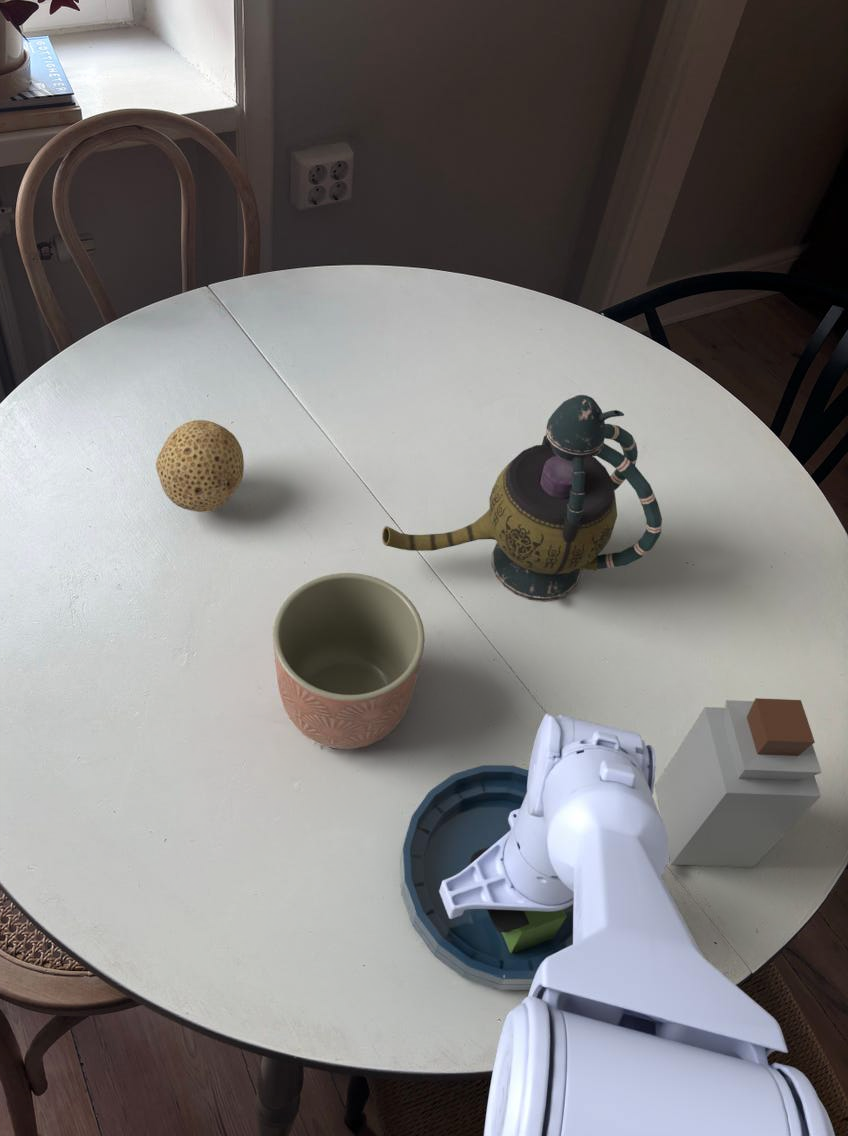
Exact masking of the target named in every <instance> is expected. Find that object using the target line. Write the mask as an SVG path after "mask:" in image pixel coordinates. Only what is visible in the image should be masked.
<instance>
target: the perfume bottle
mask: <svg viewBox="0 0 848 1136" xmlns="http://www.w3.org/2000/svg"><path fill="white" fill-rule="evenodd" d="M815 743H816V742H815V738H814V735H813V733H812V729H811V726H810V723H809V721H808V717H807V715H806V711H805V709H804V705H803V702H802V700H801V699H788V698H787V699H786V698H785V699H784V698H757V697H755V698H754V700H732V699H730V700H729V699H725V704H724V707H716V706H704V708H703V709H702V711H701V713H700V714H699V715H698V717H697V718H696V720H695V722H694V723H693V724H692V726H691V728H690V730H688V733H687V734H686V736H685V737H684V739H683V741H682V742H681V743H680V745H679V746H678V748H677V749H676V751H675V753H674V755H673V756H672V757H671V759H670V761H669V763H668V764H667V766H666V767H665V768H664V770H663V772H662V774H661V775H660V776H659V778H658V779H657V781H656V782H655V783H654V789H655V793H656V798H657V804H658V810H659V814H660V817H661V819H662V822H663V824H664V827H665V830H666V833H667V836H668V841H669V856H668V860H669V863H670V865H672V866H673V865H674V866H699V867H703V866H704V867H729V868H731V867H732V868H734V867H735V868H754V867H755V866H756V865H757V864H758V863H759V862H760V861H761V859H763V858H764V856H765V855H767V853H769V851H770V850H771V849H773V847H774V846H775V845H776V844H777V843H778V842H779V841H780V839H782V838H783V836H785V834H787V832H788V831H790V829H791V828H792V827H793V826H794V825H796V823H797V822H798V821H799V820H800V819H801V818H802V817H803V816H804V815H805V814H806V812H807V811H808V810H809V809H811V807H812V806H813V805H814V804H816V802H818V801H819V799H820V798H821V797H822V795H821V792H820V788H819V785H818V782H817V779H816V776H817V775H820V774H822V772H823V771H822V769H821V765H820V762H819V760H818V757H817V753H816V750H815V748H814V744H815Z"/></svg>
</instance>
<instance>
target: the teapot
mask: <svg viewBox="0 0 848 1136" xmlns="http://www.w3.org/2000/svg"><path fill="white" fill-rule="evenodd" d="M624 416H625V414H624V412H623V411H620V410H618V409H614V410H609V411H605V412H603V411H602V408H601V407H600V405H599V404H598V403H597V401H596V400H595V399H594V398H593V397H591V396H589V395H586V394H578V395H574V396H573V397H571V398H568V399H567V400H564V401H563V402H562V403H560V405H559V406H558V407H557V408H556V409H555V410H554V411H553V413H552V414H551V416H550V417H549V418H548V420H547V422H546V427H545V435H544V436H543V439H542V443H541V444H535V445H533V446H531V447H528V448H526V449H524V450H522V451H521V452H520V453H519V454H518V455H517V456H515V457H514V458H513V459H512V460H511V461H510V462H509V463H508V464H507V465H506V466H505V467H504V468H503V469H502V470H501V472H500V473H499V475H497V478H496V480H495V482H494V485H493V486H492V490H491V491H490V496H489V509H488V510H487V511H486V512H485V513H484V514H482V516H480V517H479V518H478V519H477V520H475V521H474V522H473V523H470V524H468V525H466V526H464V527H461V528H459V529H456V530H454V531H453V530H452V531H448V532H444V533H429V534H427V533H426V534H407V533H404V532H403V533H402V532H399V531H398V530H396V529H394V528H392V527H390V526H388V525H387V526H384V528H383V530H382V532H381V533H382V534H381V535H382V536H381V539H382V543H383V545H384V546H386V547H390V548H394V549H397V550H398V549H399V550H403V551H410V552H411V551H412V552H414V551H415V552H428V551H430V552H431V551H438V550H442V549H446V548H450V547H455V546H460V545H463V544H467V543H470V542H476V541H481V540H493V541H496V543H495V546H494V548H493V550H492V553H491V568H492V570H493V573H494V576H495V578H496V579H497V580H498V581H499V582H500V584H501V585H502V586H503V588H505V589H507V590H508V591H510V592H511V593H512V594H514V595H515V596H518V597H521V598H523V599H526V600H529V601H538V602H549V601H554V600H558V599H560V598H563V597H564V596H567V595H569V594H570V593H571V592H572V590H573V589H575V587H576V586H577V584H578V581H579V579H580V575H581V571H582V570H587V571H588V570H589V571H598V570H602V569H609V568H615V567H616V568H617V567H624V566H628V565H629V564H632V563H634V562H636V561H637V560H640V559H641V558H643V557H644V556H645V555H646V554H648V552H649V551H651V550H652V549H653V547H654V546H655V545H656V543H657V542H658V540H659V538H660V537H661V534H662V526H663V525H662V524H663V517H662V513H661V509H660V505H659V503H658V500H657V497H656V495H655V492H654V491H653V488H652V486H651V483H650V482H649V481H648V479H646V478H645V476H644V474H643V473H641V471H640V470H639V469H638V467H637V466H636V464H637V460H638V456H639V455H638V454H639V452H638V445H637V442H636V441H635V438H634V436H633V435H632V434H631V433H630V432H629V431H627V430H626V429H624V428H623V427H622V426H619V425H616V424H612V423H605V422H606V420H608V419H611V418H616V417H624ZM605 439H606V440H612V441H614V442H616V443H618V444H619V445H620V446H619V447H621V449H622V453H621V452H620V451H618V450H616V449H614V447H612V446H609V445H608V444H606V443H605ZM596 457H597V458H599V459H601V460H602V461H604V462H606V463H608V464H609V465H611V466H612V467H613V468H614V469H615V470H614V471H613V472H612V473H611V474H610V473H609V471H608V469H607V468H606V467H605V465H603V464H602V463H601V462H600V461H599V460H598V459H597V458H596ZM625 480H626V481H627V482H628V484H629V485H630V486H631V487H632V488H633V489H634V491H635V493H636V495H637V498H638V499H639V502H640V505H641V507H642V509H643V512H644V516H645V520H646V521H645V522H646V523H645V531H644V533H643V535H642V536H641V537H640V538H639V539H638V540H637V541H635V543H634V544H632V545H631V546H629V547H627V548H625V549H624V550H621V551H616V552H611V553H610V552H609V553H603V554H601V552H602V551H603V550H604V548H605V547H606V546H607V544H608V543H609V541H610V540H611V538H612V534H613V531H614V528H615V525H616V522H617V518H618V506H617V499H616V492H615V491H616V490H617V489H618V488H620V486H622V485H623V483H624V482H625Z"/></svg>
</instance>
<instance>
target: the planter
mask: <svg viewBox="0 0 848 1136" xmlns="http://www.w3.org/2000/svg"><path fill="white" fill-rule="evenodd" d="M422 620H423V619H422V618H421V616H420V613H419V611H418V610H417V608H416V606H415V604H414V603H413V602H412V601H411V599H410V598H409V597H408V596H406V594H404V593H403V591H401V590H400V589H399V588H397V587H396V586H394V585H392V584H391V583H389V582H387V581H385V580H383V579H381V578H378V577H376V576H372V575H368V574H363V573H355V572H339V573H332V574H331V573H330V574H327V575H322V576H320V577H316V578H314V579H312V580H310V581H308V582H306V583H305V584H302V585H301V586H300V587H298V588H297V589H296V590H295V591H293V592H292V593H291V594H290V595H289V596H288V597H287V599H286V600H285V601H284V602H283V604H281V607H280V608H279V610H278V612H277V614H276V617H275V620H274V624H273V627H272V629H273V630H272V644H273V652H274V653H273V654H274V664H275V671H276V672H275V673H276V679H277V685H278V691H279V695H280V698H281V702H282V706H283V709H284V710H285V712H286V714H287V716H288V718H289V719H290V721H291V722H292V723H293V725H294V727H296V729H297V730H298V731H300V732H301V734H303V735H304V736H305V737H307V738H308V739H310V740H311V741H313V742H315V743H317V744H320V745H322V746H325V747H328V748H332V749H338V750H352V749H353V750H354V749H359V748H363V747H366V746H367V747H368V746H369V745H372V744H375V743H377V742H378V741H380V740H382V739H383V738H385V737H386V736H388V735H389V734H390V733H391V732H392V731H393V730H394V729H395V728H396V727H397V725H398V724H399V723H400V721H401V720H402V718H403V717H404V716H405V713H406V711H407V709H408V707H409V705H410V702H411V699H412V696H413V693H414V691H415V687H416V681H417V680H418V675H419V670H420V665H421V661H422V657H423V654H424V648H425V641H426V639H425V629H424V623H423V621H422Z"/></svg>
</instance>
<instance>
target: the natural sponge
mask: <svg viewBox="0 0 848 1136" xmlns="http://www.w3.org/2000/svg"><path fill="white" fill-rule="evenodd" d="M155 468H156V472H157V475H158V479H159V482H160V485H161V488H162V490H163V492H164V494H165V496H166V497H167V498H168V499H169V500H170V501H171V502H172V503H173V504H174V505H176V506H177V507H180V508H182V509H184V510H188V511H191V512H199V513H207V512H212V511H214V510H217V509H218V508H220V507H222V506H223V505H224V504H225V503H226V502H227V501H228V500H229V499H230V498H231V497H232V495H234V493H235V492H236V490H237V489H238V488H239V487H240V485H241V483H242V480H243V479H244V478H243V477H244V472H245V471H244V470H245V460H244V453H243V448H242V446H241V444H240V442H239V440H238V438H237V437H236V436H235V435H234V433H232V432H231V431H230V430H229V429H227V428H226V427H224V426H223V425H220V424H218V423H216V422H213V421H211V420H203V419H197V420H191V421H187V422H185V423H183V424H181V425H180V426H178V427H176V428H175V429H174V430H173V431H172V432H171V433H170V435H169V436H168V437H167V438H166V440H165V442H164V444H163V445H162V448H161V450H160V452H159V453H158V456H157V458H156V461H155Z"/></svg>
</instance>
